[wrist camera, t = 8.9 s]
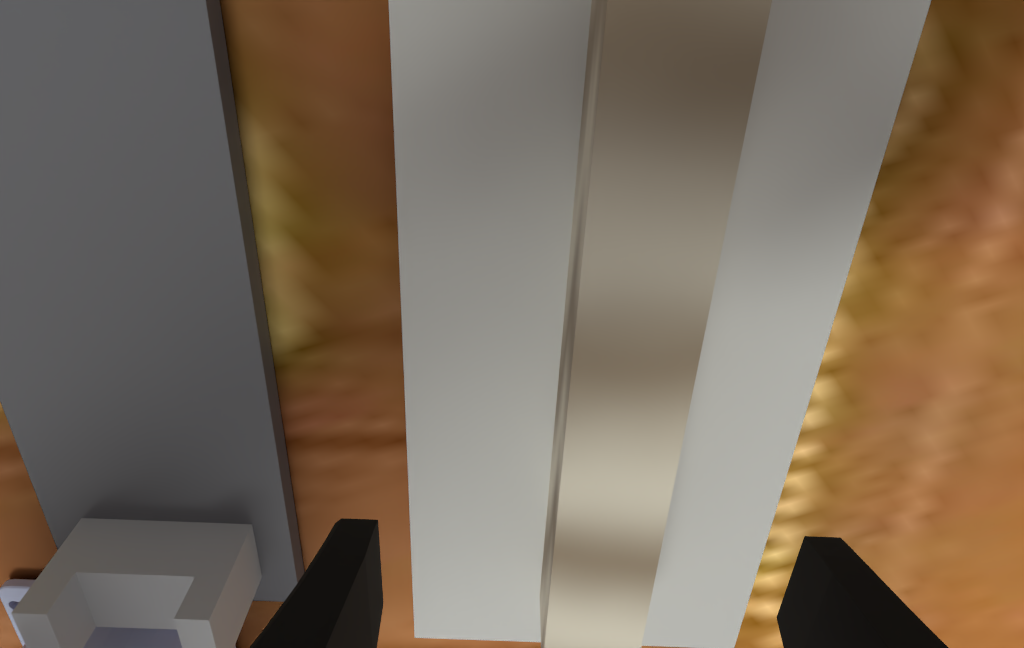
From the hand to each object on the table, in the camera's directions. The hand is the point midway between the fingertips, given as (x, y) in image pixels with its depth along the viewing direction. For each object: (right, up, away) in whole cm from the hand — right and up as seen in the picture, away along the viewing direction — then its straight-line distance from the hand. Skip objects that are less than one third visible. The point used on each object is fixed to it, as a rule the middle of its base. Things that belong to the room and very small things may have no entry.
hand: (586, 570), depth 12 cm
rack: (-12, +5, +8) cm, 16 cm away
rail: (+2, +4, +8) cm, 9 cm away
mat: (+2, +5, +8) cm, 9 cm away
